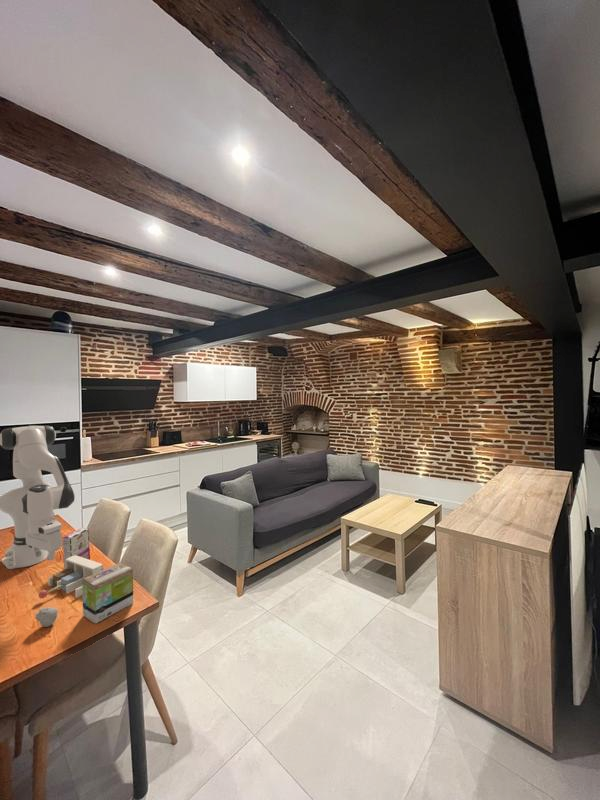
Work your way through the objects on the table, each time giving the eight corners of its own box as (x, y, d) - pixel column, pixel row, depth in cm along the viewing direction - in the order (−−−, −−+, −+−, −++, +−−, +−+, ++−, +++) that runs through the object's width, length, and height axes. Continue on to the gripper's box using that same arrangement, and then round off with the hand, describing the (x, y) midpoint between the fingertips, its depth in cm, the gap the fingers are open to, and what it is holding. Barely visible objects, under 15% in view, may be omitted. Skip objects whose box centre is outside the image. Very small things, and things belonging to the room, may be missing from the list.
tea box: (96, 625, 126) (94, 585, 126) (82, 616, 131) (81, 578, 131) (134, 603, 139) (133, 567, 138) (120, 595, 144) (119, 561, 144)
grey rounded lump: (33, 627, 126) (33, 608, 126) (56, 617, 131) (55, 599, 131) (37, 634, 122) (36, 615, 121) (61, 624, 127) (60, 605, 127)
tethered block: (36, 601, 141) (35, 590, 141) (75, 582, 155) (75, 571, 155) (42, 604, 139) (41, 592, 139) (81, 584, 153) (81, 573, 153)
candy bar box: (82, 558, 178) (81, 527, 177) (90, 559, 177) (89, 528, 176) (63, 570, 167) (62, 536, 166) (71, 570, 166) (70, 537, 165)
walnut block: (53, 585, 153) (52, 574, 153) (67, 579, 158) (66, 568, 158) (58, 588, 151) (58, 577, 151) (72, 581, 156) (72, 570, 156)
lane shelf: (48, 585, 153) (47, 566, 153) (75, 573, 163) (75, 555, 163) (76, 597, 143) (75, 577, 143) (103, 583, 154) (103, 564, 154)
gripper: (19, 524, 143) (22, 557, 143) (47, 531, 134) (49, 565, 134) (36, 519, 149) (38, 550, 149) (64, 525, 140) (66, 558, 140)
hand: (44, 557), depth 142 cm, fingers open, 8 cm apart
